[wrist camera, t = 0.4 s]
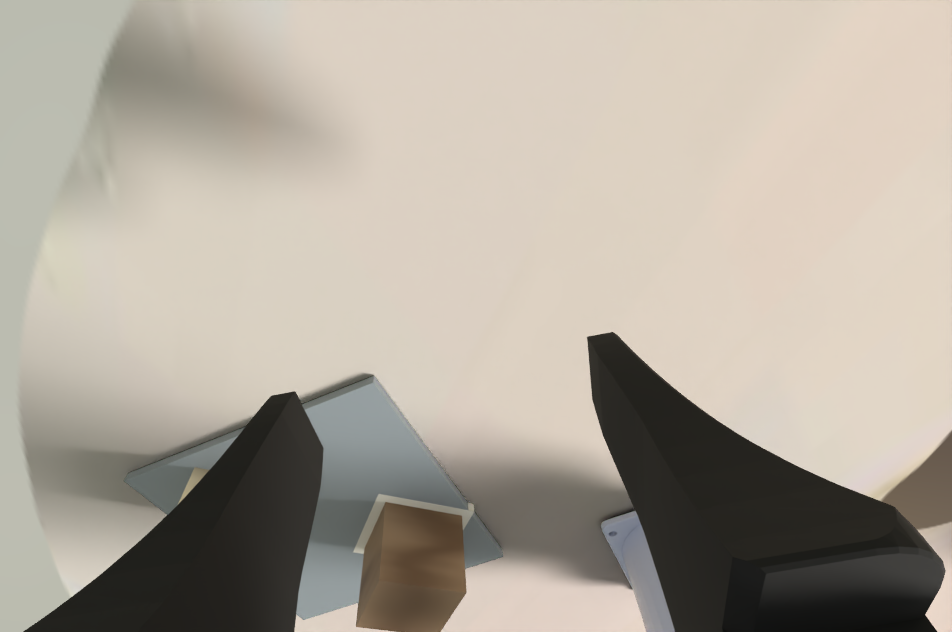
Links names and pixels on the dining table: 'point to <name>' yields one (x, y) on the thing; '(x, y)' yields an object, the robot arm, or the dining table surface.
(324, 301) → the dining table surface
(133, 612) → the robot arm
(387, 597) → the walnut block
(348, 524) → the light blue flat plate
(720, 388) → the dining table surface
